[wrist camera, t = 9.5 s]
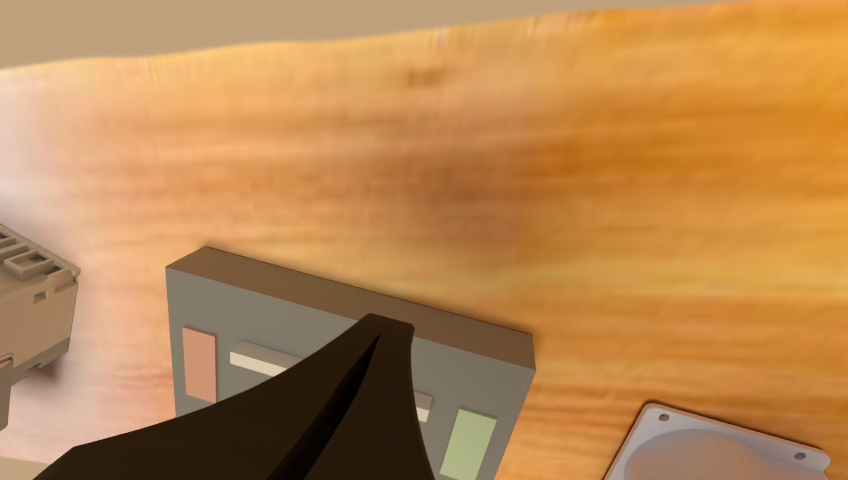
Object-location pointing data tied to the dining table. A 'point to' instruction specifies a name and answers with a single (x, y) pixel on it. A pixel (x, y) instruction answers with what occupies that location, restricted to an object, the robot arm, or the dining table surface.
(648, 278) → the dining table surface
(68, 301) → the circuit breaker
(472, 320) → the slider control box
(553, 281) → the dining table surface
